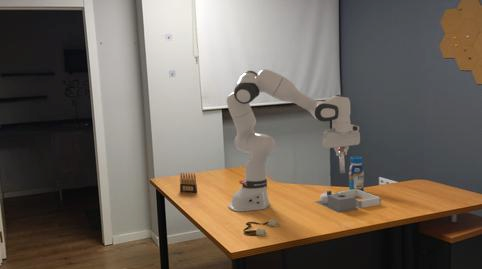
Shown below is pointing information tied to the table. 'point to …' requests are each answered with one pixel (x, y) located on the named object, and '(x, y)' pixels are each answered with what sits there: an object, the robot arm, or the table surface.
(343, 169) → the lock pin
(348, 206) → the grey rectangular block
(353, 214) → the table surface
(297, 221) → the table surface
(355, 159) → the beverage bottle
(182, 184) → the ammunition clip
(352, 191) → the tray
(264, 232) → the cable
